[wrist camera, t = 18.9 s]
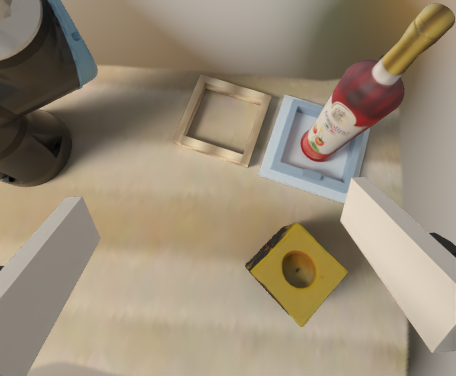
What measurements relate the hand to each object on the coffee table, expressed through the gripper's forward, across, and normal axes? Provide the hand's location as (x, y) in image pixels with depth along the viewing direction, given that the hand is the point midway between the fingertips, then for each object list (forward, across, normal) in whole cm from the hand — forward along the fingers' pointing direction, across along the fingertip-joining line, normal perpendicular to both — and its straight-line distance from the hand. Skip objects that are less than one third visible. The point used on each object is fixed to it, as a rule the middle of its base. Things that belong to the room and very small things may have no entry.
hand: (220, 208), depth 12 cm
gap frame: (+39, +1, -7) cm, 39 cm away
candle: (+19, +10, -28) cm, 35 cm away
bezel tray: (+34, +19, -12) cm, 40 cm away
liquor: (+33, +19, -12) cm, 40 cm away
